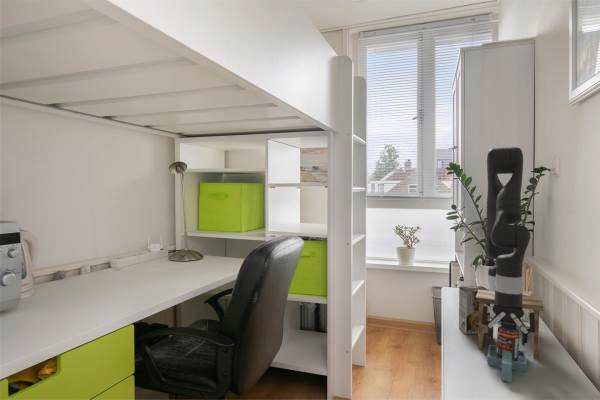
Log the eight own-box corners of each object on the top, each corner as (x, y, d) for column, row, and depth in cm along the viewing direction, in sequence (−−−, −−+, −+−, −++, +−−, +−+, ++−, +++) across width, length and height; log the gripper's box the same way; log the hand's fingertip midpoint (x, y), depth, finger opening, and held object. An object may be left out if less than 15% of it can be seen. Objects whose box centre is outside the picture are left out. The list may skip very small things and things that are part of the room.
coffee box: (481, 327, 145) (482, 285, 145) (490, 334, 139) (491, 290, 138) (457, 327, 145) (458, 285, 144) (465, 334, 139) (466, 290, 138)
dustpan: (488, 351, 124) (489, 336, 124) (525, 358, 119) (525, 343, 119) (485, 376, 107) (486, 359, 107) (527, 386, 103) (528, 368, 102)
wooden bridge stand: (477, 336, 137) (478, 289, 136) (539, 347, 128) (540, 297, 127) (474, 347, 127) (475, 297, 127) (541, 360, 118) (543, 306, 117)
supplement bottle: (494, 357, 117) (495, 321, 117) (499, 351, 122) (500, 316, 121) (515, 363, 113) (516, 326, 113) (520, 357, 117) (521, 321, 117)
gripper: (535, 289, 116) (533, 341, 117) (483, 283, 123) (482, 332, 124) (536, 296, 110) (534, 351, 110) (482, 289, 117) (480, 341, 117)
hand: (507, 341), depth 117 cm, fingers open, 8 cm apart
